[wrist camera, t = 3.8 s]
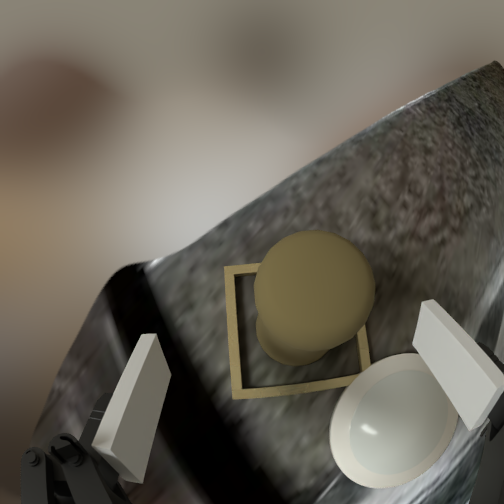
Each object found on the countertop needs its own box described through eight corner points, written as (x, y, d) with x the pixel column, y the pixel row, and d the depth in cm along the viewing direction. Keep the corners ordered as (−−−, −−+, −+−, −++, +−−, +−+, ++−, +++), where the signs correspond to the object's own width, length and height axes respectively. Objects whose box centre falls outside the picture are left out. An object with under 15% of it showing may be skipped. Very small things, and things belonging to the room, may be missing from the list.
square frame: (349, 256, 22) (350, 253, 22) (369, 380, 18) (372, 380, 18) (225, 269, 23) (224, 266, 22) (233, 398, 18) (232, 399, 18)
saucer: (445, 340, 19) (453, 338, 17) (452, 457, 14) (459, 460, 13) (322, 369, 19) (325, 369, 18) (331, 498, 14) (334, 504, 13)
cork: (240, 314, 21) (210, 254, 11) (307, 272, 22) (333, 185, 12) (284, 382, 19) (298, 392, 9) (352, 335, 20) (422, 295, 10)
